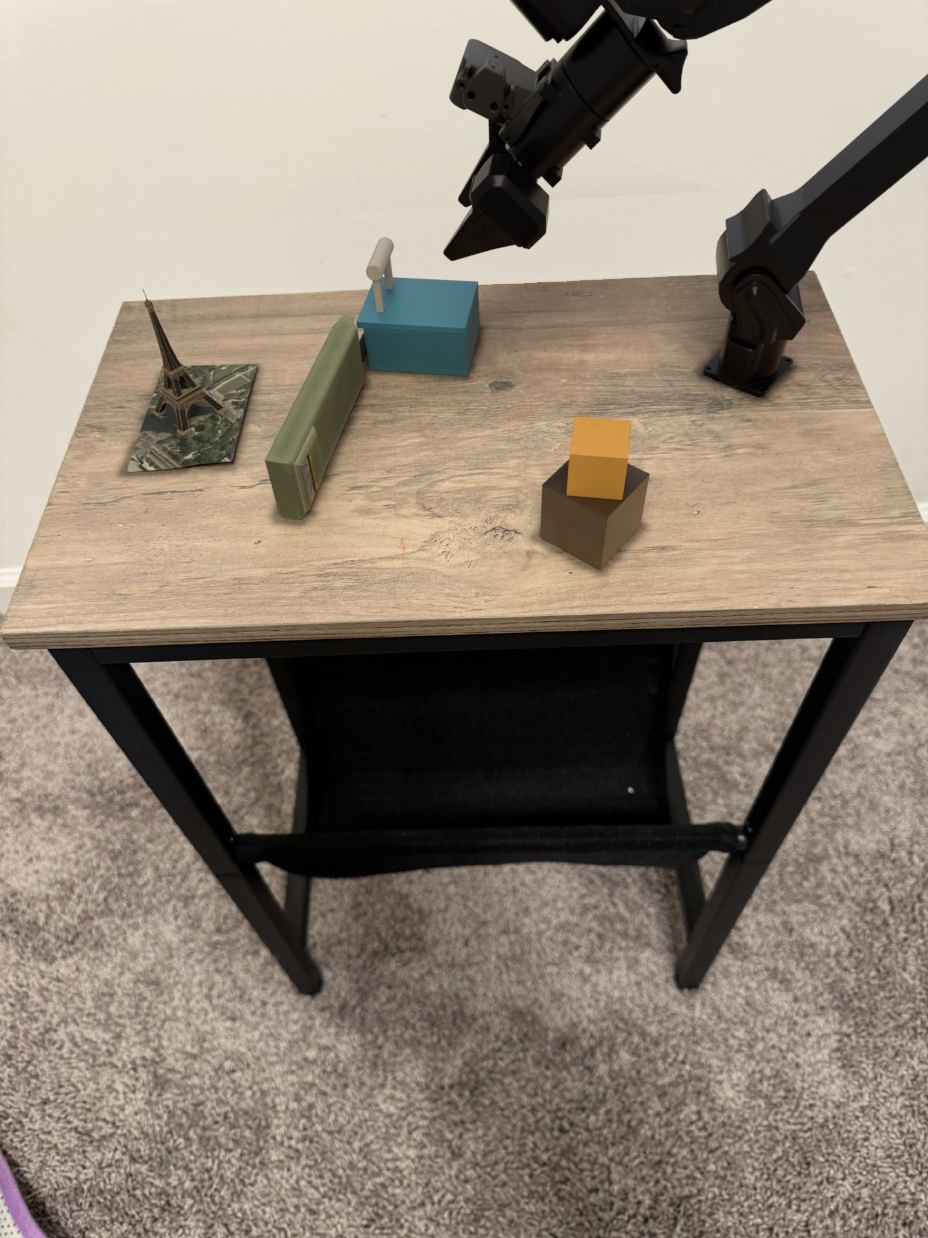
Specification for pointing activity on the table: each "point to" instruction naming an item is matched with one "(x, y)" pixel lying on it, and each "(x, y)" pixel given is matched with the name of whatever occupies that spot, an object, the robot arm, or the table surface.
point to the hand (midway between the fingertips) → (454, 228)
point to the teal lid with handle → (414, 299)
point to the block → (598, 458)
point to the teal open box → (423, 349)
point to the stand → (591, 517)
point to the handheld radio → (316, 420)
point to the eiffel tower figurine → (191, 411)
